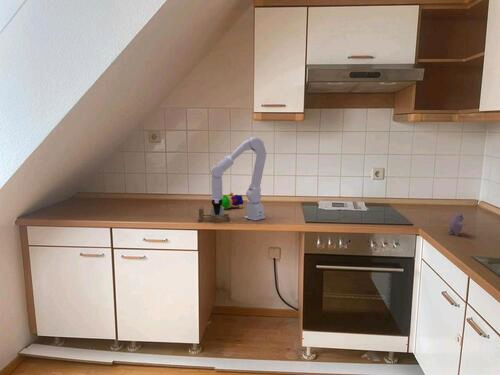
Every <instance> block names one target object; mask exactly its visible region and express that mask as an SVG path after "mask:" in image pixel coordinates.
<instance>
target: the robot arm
mask: <svg viewBox="0 0 500 375" xmlns="http://www.w3.org/2000/svg"><path fill="white" fill-rule="evenodd" d="M250 150H252V151H253V152H254V154H255V155H256V156H255V161H254V165H253V166H254V167H253V171H252V177H251V182H250V185H249V186H248V189H247V191H246V193H245V195H246V198H247V201H246V215H245V216H243V218H244V219H248V220H252V221H259V220H263V219H266V216H265V205H264V204H263V203H261V199H262V195H261V194H262V193H261V191H262V188H261V184H262V180H263V179H262V178H263V173H264V168H265V163H266V159H267V151H266V148H265V144H264V142H263V140H262V139H261V138H260V137H258V136H256V137H255V136H249V137H248V138H247V139H245V140H244V141H243V142H242V143H240V145H238V147H237V148H236V149H235V150H234V151H233V152H232V153H230V155H225V156H222V157H221V158H222V159H221V160H220V161H219V162H217V163H215V165H213V166H212V167H211V170H210V174H211V180H210V182H211V183H210V184H211V186H210V187H211V196H209V199H211V205H212V207H214V212H215V215H219V213H220V207H222V206H221V204H222V199H223V175H224V173H225V172H227V170H229V168H230V167H232V165H234V163H235V162H234V161H235V160H236V159H237V158H238V157H240V156H241V155H242V154H243V153H244V152H245V151H250Z"/></svg>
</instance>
